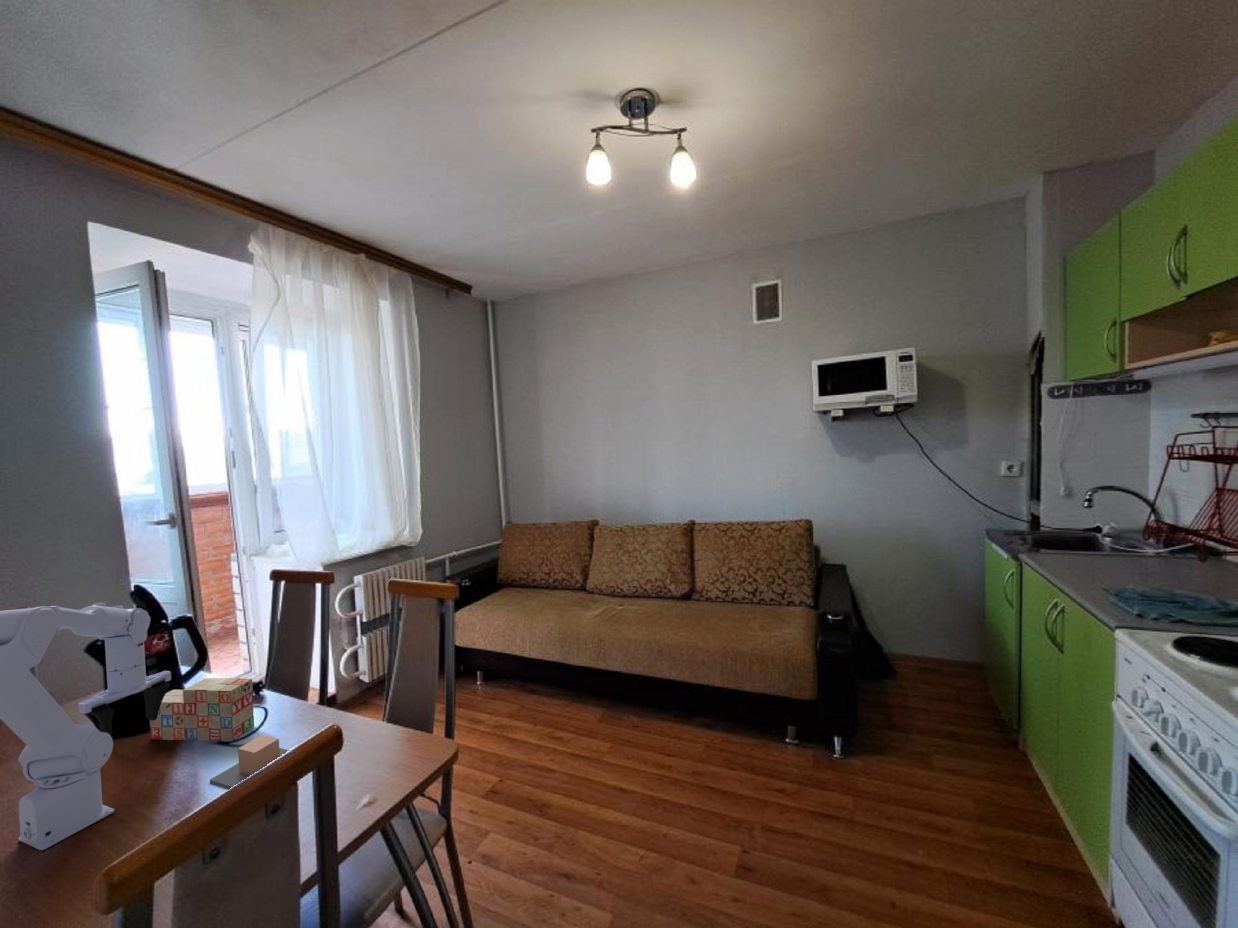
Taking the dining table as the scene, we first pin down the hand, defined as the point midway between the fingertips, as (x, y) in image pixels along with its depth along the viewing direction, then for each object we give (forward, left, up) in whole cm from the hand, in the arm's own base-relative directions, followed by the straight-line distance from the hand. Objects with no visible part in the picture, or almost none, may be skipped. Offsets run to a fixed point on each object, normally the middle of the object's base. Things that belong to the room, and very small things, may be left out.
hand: (130, 729), depth 102 cm
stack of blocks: (+14, +2, -10) cm, 18 cm away
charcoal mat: (+9, -26, -9) cm, 29 cm away
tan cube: (+9, -26, -9) cm, 29 cm away
